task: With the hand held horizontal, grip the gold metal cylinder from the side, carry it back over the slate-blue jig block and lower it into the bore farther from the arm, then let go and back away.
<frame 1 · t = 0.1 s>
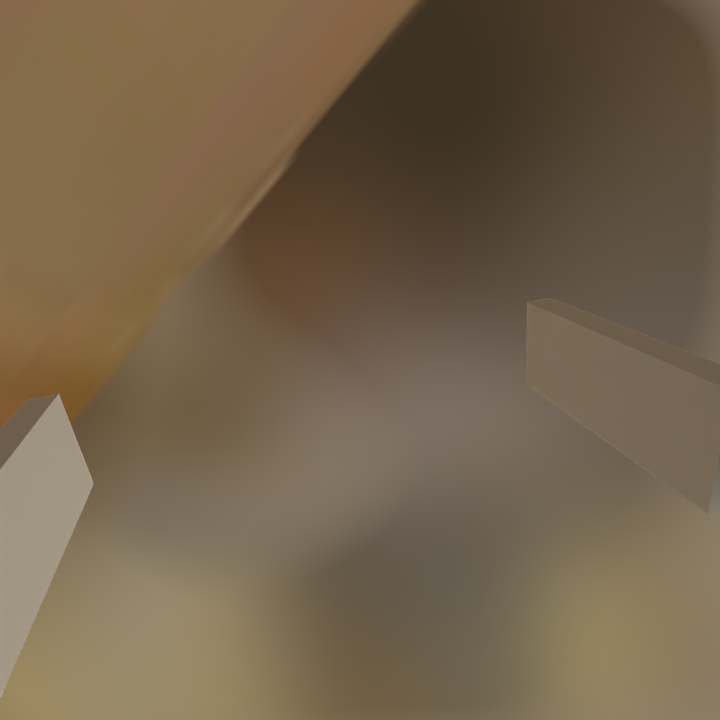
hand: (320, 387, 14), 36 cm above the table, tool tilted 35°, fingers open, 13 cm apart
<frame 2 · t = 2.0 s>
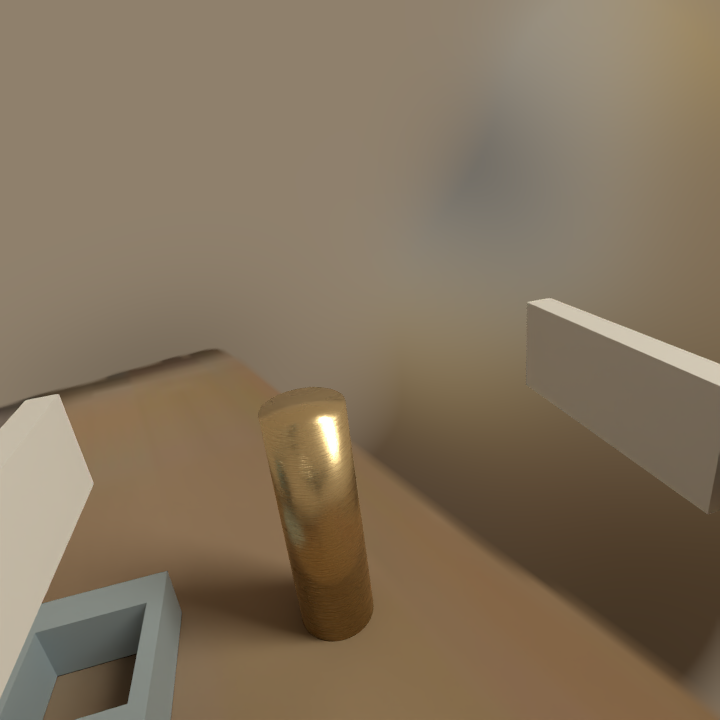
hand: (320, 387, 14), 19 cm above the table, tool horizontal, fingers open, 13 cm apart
gold metal cylinder: (337, 608, 30), on the table
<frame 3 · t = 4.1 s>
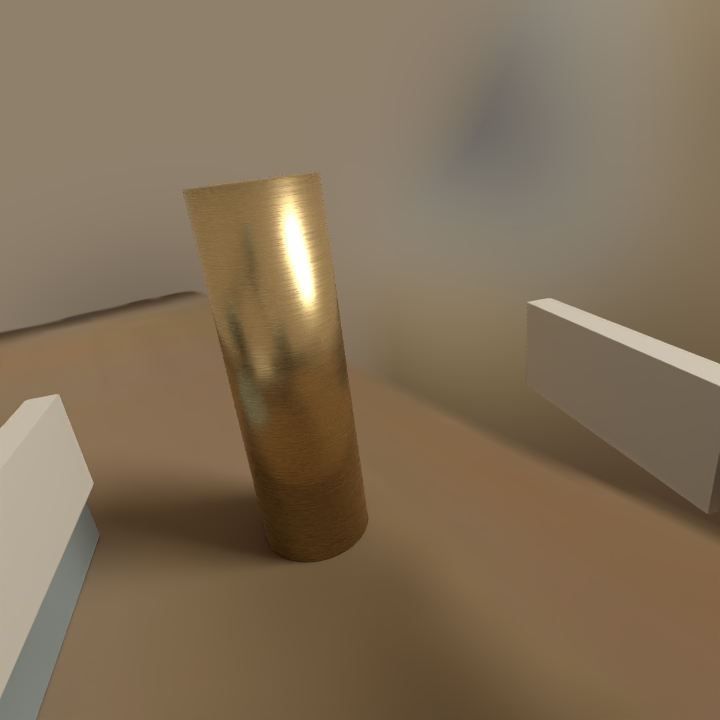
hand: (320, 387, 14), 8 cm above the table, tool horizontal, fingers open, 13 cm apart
gold metal cylinder: (317, 522, 21), on the table
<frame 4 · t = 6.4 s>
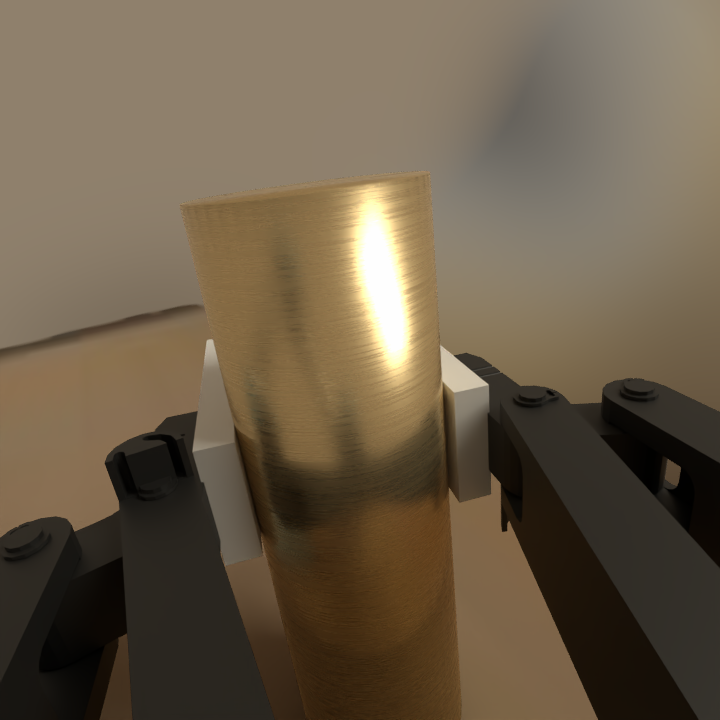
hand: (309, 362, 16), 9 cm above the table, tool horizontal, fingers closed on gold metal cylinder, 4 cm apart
gold metal cylinder: (383, 699, 14), on the table, touching gripper
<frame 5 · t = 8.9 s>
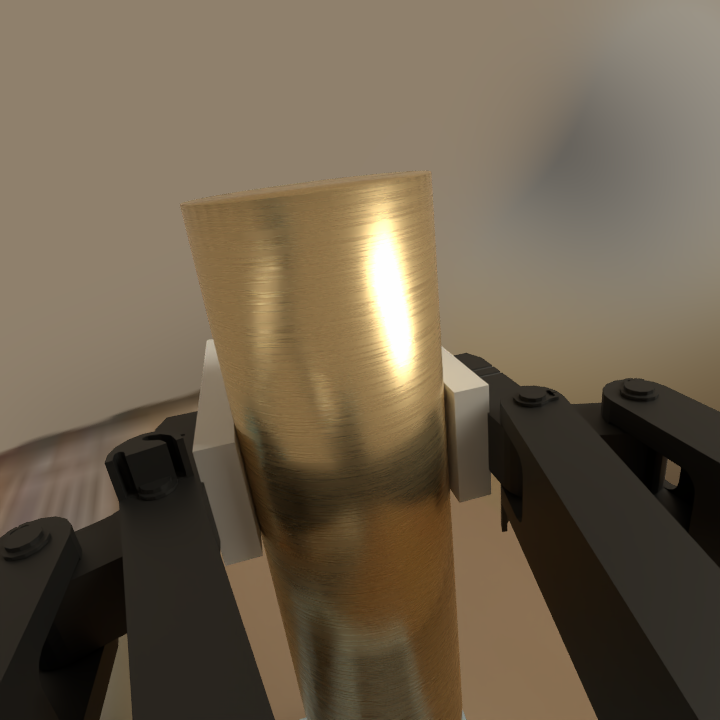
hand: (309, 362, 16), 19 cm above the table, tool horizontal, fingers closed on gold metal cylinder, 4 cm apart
gold metal cylinder: (384, 699, 14), point 10 cm above the table, touching gripper
when the fingers open (10 cm above the table, at t = 11.4 s): gold metal cylinder drops 1 cm, resting in jig.
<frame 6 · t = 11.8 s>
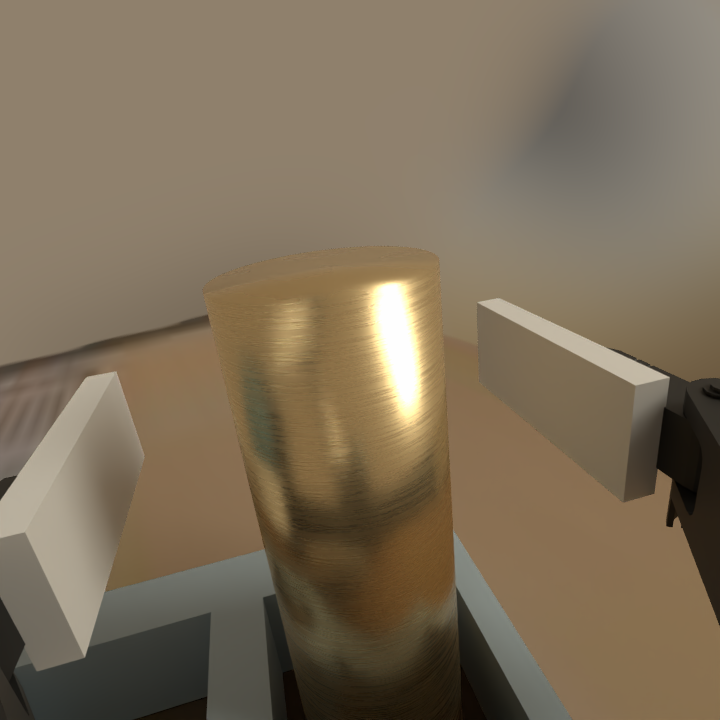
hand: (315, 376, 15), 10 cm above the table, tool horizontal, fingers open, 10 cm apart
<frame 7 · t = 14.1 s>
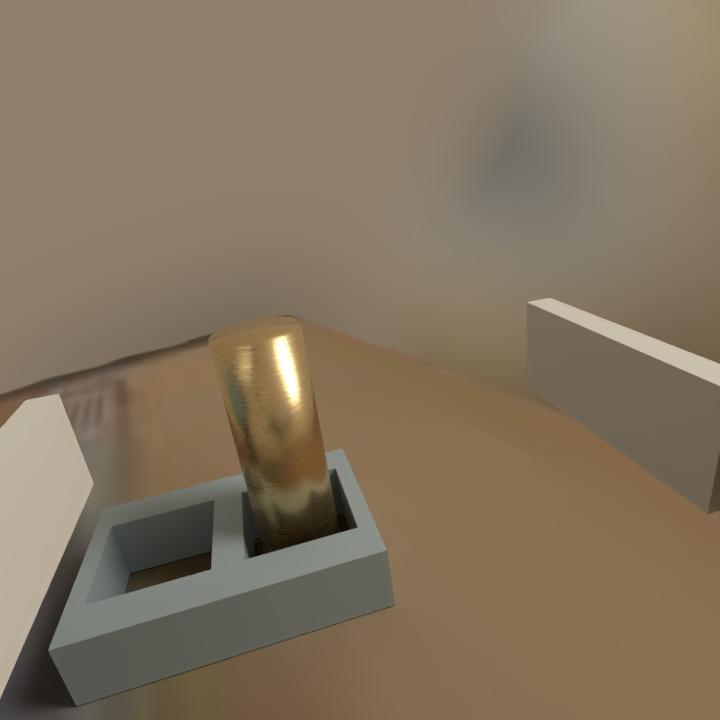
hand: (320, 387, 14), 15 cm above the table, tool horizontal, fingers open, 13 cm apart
jig: (242, 576, 28), on the table
gold metal cylinder: (306, 559, 29), resting in jig
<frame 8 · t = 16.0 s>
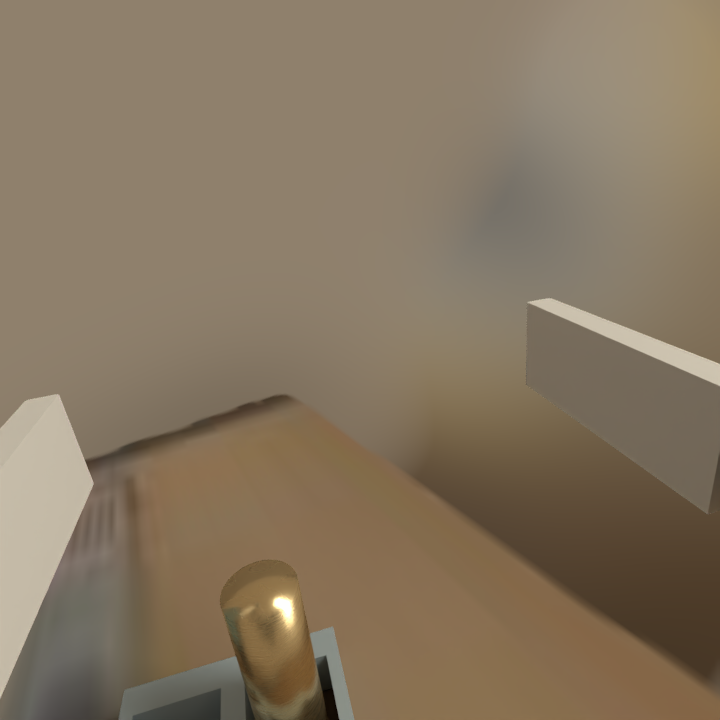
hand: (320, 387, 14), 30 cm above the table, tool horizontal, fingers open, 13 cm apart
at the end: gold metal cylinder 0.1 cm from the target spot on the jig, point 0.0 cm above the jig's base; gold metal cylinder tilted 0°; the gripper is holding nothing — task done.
